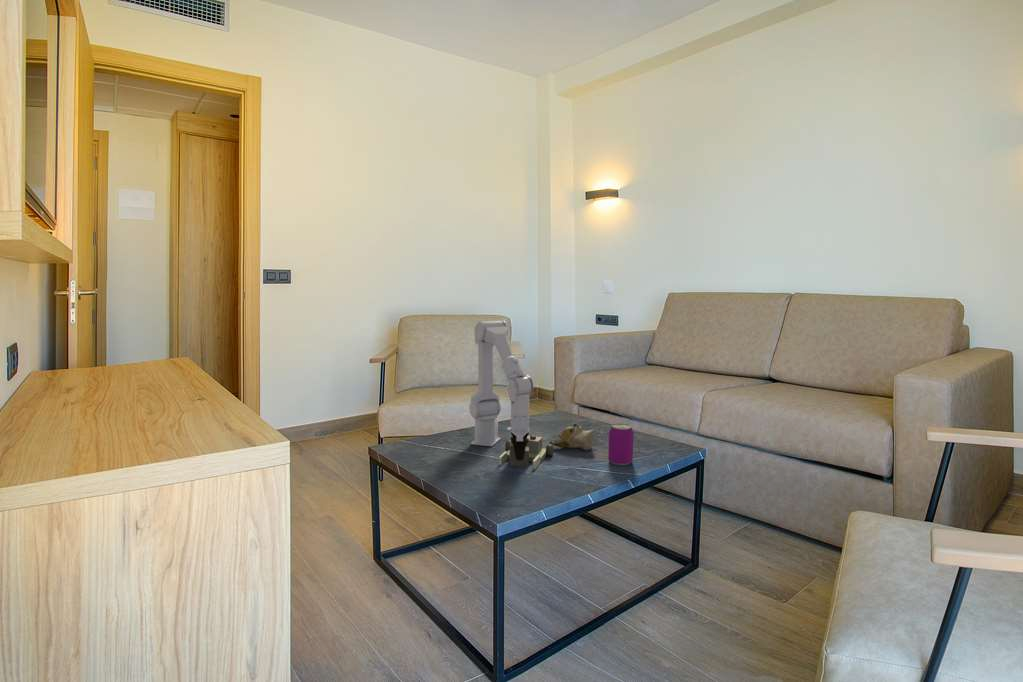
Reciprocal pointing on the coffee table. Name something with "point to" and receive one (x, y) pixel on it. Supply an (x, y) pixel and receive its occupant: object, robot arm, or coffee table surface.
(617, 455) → the beverage can
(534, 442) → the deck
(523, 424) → the robot arm
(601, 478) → the coffee table surface
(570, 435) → the ceramic sculpture
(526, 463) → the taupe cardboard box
